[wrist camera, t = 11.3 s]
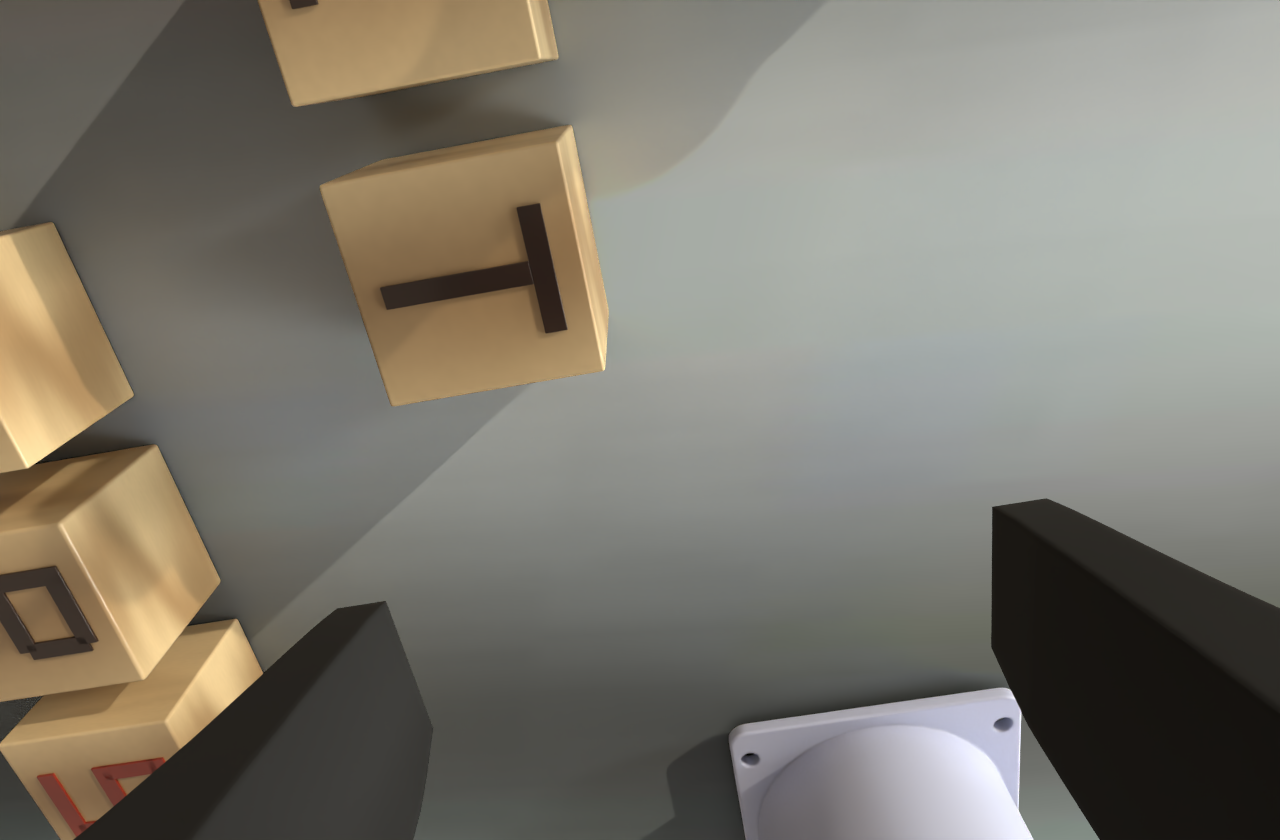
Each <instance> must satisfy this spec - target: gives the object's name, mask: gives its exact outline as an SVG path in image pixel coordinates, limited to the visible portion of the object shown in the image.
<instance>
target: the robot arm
mask: <svg viewBox="0 0 1280 840" xmlns="http://www.w3.org/2000/svg"><path fill="white" fill-rule="evenodd" d="M991 647H992V650H993V652H994V654H995V656H996V658H997V661H998V663H999V665H1000V667H1001V669H1002V672H1003V674H1004V676H1005V678H1006V680H1007V683H1008V685H1009V687H1010V689H1011V690H1010V689H1007V688H993V689H986V690H979V691H972V692H965V693H958V694H951V695H944V696H937V697H930V698H923V699H916V700H909V701H902V702H895V703H888V704H881V705H874V706H867V707H860V708H853V709H846V710H839V711H832V712H825V713H818V714H811V715H804V716H797V717H790V718H783V719H776V720H769V721H762V722H755V723H748V724H743V725H739V726H737V727H735V728H734V729H733V730H732V731H731V732H730V734H729V745H730V751H731V757H732V763H733V769H734V775H735V780H736V786H737V792H738V798H739V804H740V809H741V815H742V821H743V827H744V833H745V838H746V840H1033V838H1032V836H1031V834H1030V832H1029V830H1028V828H1027V826H1026V824H1025V822H1024V821H1023V819H1022V817H1021V815H1020V813H1019V811H1018V805H1019V769H1020V733H1021V712H1022V714H1023V716H1024V718H1025V720H1026V722H1027V724H1028V726H1029V728H1030V729H1031V731H1032V733H1033V734H1034V736H1035V738H1036V739H1037V741H1038V743H1039V744H1040V746H1041V747H1042V749H1043V751H1044V752H1045V754H1046V755H1047V757H1048V759H1049V760H1050V762H1051V763H1052V765H1053V767H1054V768H1055V770H1056V771H1057V773H1058V775H1059V776H1060V778H1061V779H1062V781H1063V783H1064V784H1065V786H1066V787H1067V789H1068V791H1069V792H1070V794H1071V795H1072V797H1073V798H1074V800H1075V802H1076V803H1077V805H1078V806H1079V808H1080V809H1081V811H1082V813H1083V814H1084V816H1085V817H1086V819H1087V820H1088V822H1089V823H1090V825H1091V827H1092V828H1093V830H1094V831H1095V833H1096V834H1097V836H1098V838H1099V839H1100V840H1280V608H1278V607H1276V606H1274V605H1271V604H1269V603H1267V602H1265V601H1262V600H1260V599H1258V598H1256V597H1254V596H1251V595H1249V594H1247V593H1245V592H1243V591H1240V590H1238V589H1236V588H1234V587H1232V586H1230V585H1228V584H1225V583H1223V582H1221V581H1219V580H1217V579H1215V578H1213V577H1211V576H1208V575H1206V574H1204V573H1202V572H1200V571H1198V570H1196V569H1194V568H1192V567H1190V566H1188V565H1185V564H1183V563H1181V562H1179V561H1177V560H1175V559H1173V558H1171V557H1169V556H1167V555H1165V554H1163V553H1161V552H1159V551H1157V550H1155V549H1153V548H1151V547H1149V546H1147V545H1144V544H1142V543H1140V542H1138V541H1136V540H1134V539H1132V538H1130V537H1128V536H1126V535H1124V534H1122V533H1120V532H1118V531H1116V530H1114V529H1112V528H1110V527H1108V526H1106V525H1104V524H1102V523H1100V522H1098V521H1096V520H1093V519H1091V518H1089V517H1087V516H1085V515H1083V514H1081V513H1079V512H1077V511H1075V510H1072V509H1070V508H1068V507H1066V506H1063V505H1061V504H1059V503H1056V502H1054V501H1051V500H1049V499H1040V500H1034V501H1027V502H1021V503H1014V504H1008V505H1001V506H995V507H992V635H991ZM1003 717H1004V718H1003ZM1000 718H1003V719H1002V720H999V721H997V720H998V719H1000ZM432 733H433V727H432V724H431V721H430V719H429V716H428V713H427V710H426V708H425V705H424V702H423V700H422V697H421V694H420V692H419V689H418V686H417V684H416V681H415V678H414V676H413V673H412V670H411V668H410V665H409V662H408V659H407V657H406V654H405V651H404V649H403V646H402V643H401V641H400V638H399V635H398V633H397V630H396V627H395V625H394V622H393V619H392V617H391V614H390V611H389V608H388V606H387V603H386V601H383V602H377V603H370V604H364V605H357V606H351V607H344V608H338V609H336V610H335V611H333V612H332V613H331V614H330V615H328V616H327V617H326V618H325V619H323V620H322V621H321V622H320V623H319V624H317V625H316V626H315V627H314V628H313V629H312V630H310V631H309V632H308V633H307V634H306V635H305V636H304V637H303V638H301V639H300V640H299V641H298V642H297V643H296V644H295V645H294V646H293V647H292V648H290V649H289V650H288V651H287V652H286V653H285V654H284V655H283V656H282V657H281V658H280V659H279V660H277V661H276V662H275V663H274V664H273V665H272V666H271V667H270V668H269V669H268V670H267V671H266V672H264V673H263V674H262V675H261V676H260V677H259V678H258V679H257V680H256V681H255V682H254V683H253V684H252V685H250V686H249V687H248V688H247V689H246V690H245V691H244V692H243V693H242V694H241V695H240V696H238V697H237V698H236V699H235V700H234V701H233V702H232V703H231V704H230V705H229V706H228V707H226V708H225V709H224V710H223V711H222V712H221V713H220V714H219V715H218V716H217V717H216V718H214V719H213V720H212V721H211V722H210V723H209V724H208V725H207V726H206V727H205V728H204V729H202V730H201V731H200V732H199V733H198V734H197V735H196V736H195V737H194V738H193V739H191V740H190V741H189V742H188V743H187V744H186V745H184V746H183V747H182V748H181V749H180V750H179V751H177V752H176V753H175V754H174V755H173V756H172V757H171V758H169V759H168V760H167V761H166V762H165V763H164V764H162V765H161V766H160V767H159V768H158V769H157V770H155V771H154V772H153V773H152V774H151V775H150V776H148V777H147V778H146V779H145V780H144V781H143V782H141V783H140V784H139V785H138V786H137V787H136V788H135V789H133V790H132V791H131V792H130V793H129V794H128V795H126V796H125V797H124V798H123V799H122V800H121V801H119V802H118V803H117V804H116V805H115V806H114V807H112V808H111V809H110V810H109V811H108V812H107V813H105V814H104V815H103V816H102V817H101V818H99V819H98V820H97V821H96V822H94V823H93V824H92V825H91V826H90V827H88V828H87V829H86V830H85V831H83V832H82V833H81V834H80V835H78V836H77V837H76V838H75V839H73V840H413V838H414V834H415V831H416V827H417V823H418V819H419V816H420V812H421V807H422V801H423V795H424V789H425V783H426V777H427V770H428V763H429V755H430V748H431V741H432ZM748 753H754V754H753V755H750V756H744V755H745V754H748Z"/></svg>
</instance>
